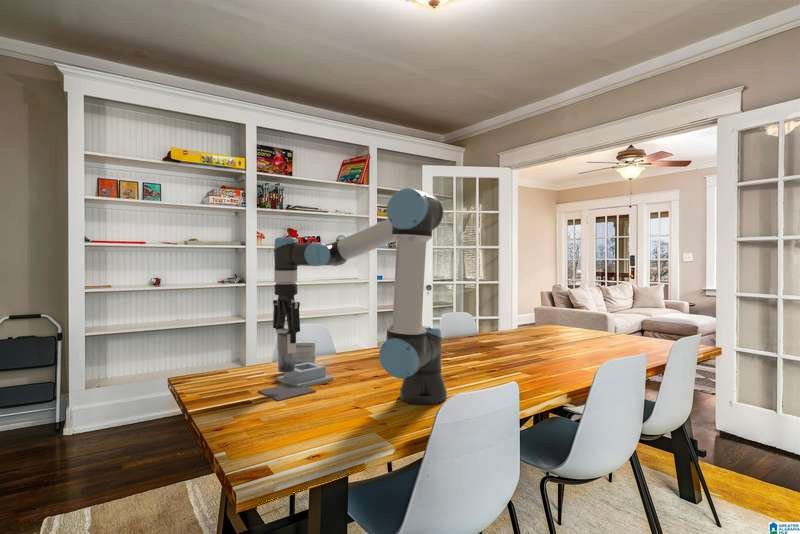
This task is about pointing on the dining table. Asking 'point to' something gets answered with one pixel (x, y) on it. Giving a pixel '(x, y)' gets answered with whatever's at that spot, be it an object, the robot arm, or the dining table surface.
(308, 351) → the ink box
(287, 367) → the grey capped cylinder
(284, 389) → the mat
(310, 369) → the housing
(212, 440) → the dining table surface
